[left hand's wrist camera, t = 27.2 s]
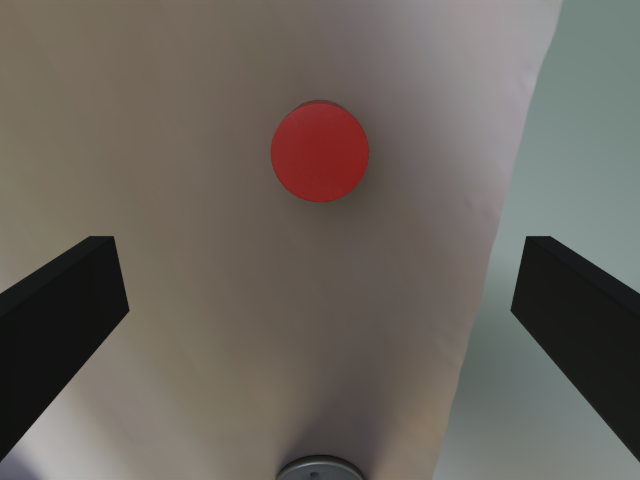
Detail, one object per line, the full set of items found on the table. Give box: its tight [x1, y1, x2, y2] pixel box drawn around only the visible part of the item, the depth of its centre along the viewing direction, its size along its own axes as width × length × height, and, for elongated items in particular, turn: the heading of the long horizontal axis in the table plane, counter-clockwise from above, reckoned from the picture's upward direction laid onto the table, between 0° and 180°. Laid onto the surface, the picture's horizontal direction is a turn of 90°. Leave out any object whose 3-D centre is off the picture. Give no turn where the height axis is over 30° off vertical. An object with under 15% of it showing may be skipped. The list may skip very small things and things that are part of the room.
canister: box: [271, 100, 369, 202], centre depth 39 cm, size 9×9×10 cm
